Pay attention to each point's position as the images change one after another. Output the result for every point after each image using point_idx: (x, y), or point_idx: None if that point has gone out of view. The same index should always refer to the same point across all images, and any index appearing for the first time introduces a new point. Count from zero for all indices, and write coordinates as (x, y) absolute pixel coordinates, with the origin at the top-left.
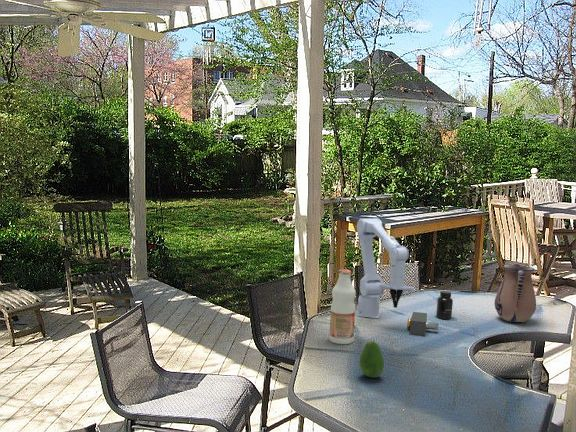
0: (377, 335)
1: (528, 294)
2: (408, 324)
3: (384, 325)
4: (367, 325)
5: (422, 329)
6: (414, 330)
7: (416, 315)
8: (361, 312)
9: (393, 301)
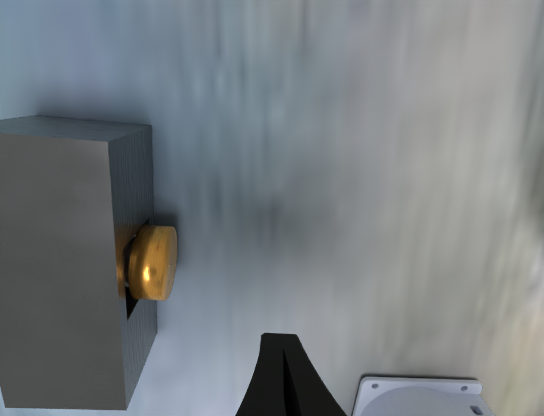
0: (396, 13)
1: None
2: (160, 229)
3: (329, 269)
4: (441, 236)
5: (25, 121)
6: (103, 127)
7: (80, 323)
8: (468, 407)
9: (316, 382)
